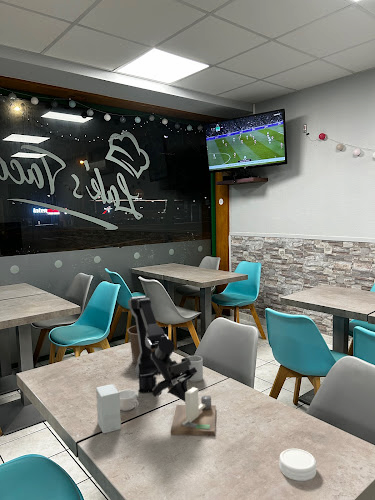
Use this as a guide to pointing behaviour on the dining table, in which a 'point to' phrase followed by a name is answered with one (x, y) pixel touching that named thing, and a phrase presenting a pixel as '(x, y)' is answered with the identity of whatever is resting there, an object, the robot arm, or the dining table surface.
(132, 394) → the teacup
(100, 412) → the small box
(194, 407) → the lever
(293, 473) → the coaster
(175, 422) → the brown flat panel
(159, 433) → the dining table surface
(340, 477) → the dining table surface
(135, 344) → the plant pot
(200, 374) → the cup
